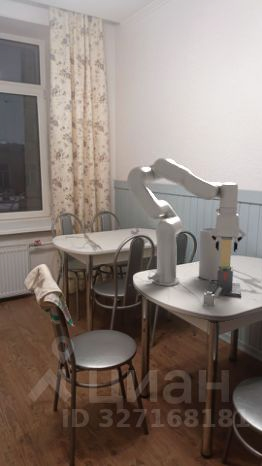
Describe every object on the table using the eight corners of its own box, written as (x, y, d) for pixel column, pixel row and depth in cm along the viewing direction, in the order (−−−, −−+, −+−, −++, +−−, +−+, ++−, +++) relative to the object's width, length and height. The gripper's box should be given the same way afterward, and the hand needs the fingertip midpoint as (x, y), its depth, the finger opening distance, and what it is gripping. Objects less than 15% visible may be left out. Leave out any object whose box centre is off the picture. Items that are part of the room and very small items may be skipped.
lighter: (203, 304, 139) (203, 285, 138) (204, 302, 141) (205, 284, 139) (220, 307, 136) (221, 288, 134) (221, 305, 137) (222, 287, 136)
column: (219, 274, 151) (221, 237, 148) (219, 271, 156) (221, 235, 153) (230, 275, 150) (232, 238, 147) (230, 272, 155) (232, 236, 152)
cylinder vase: (226, 280, 168) (228, 231, 163) (201, 280, 168) (203, 231, 163) (219, 273, 180) (221, 227, 176) (196, 273, 180) (198, 227, 176)
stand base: (208, 294, 150) (208, 270, 148) (209, 284, 163) (210, 261, 161) (240, 297, 146) (242, 272, 144) (239, 286, 159) (240, 263, 157)
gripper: (207, 211, 147) (206, 251, 150) (249, 212, 142) (246, 253, 145) (208, 209, 154) (206, 247, 157) (248, 210, 149) (245, 249, 152)
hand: (226, 250), depth 151 cm, fingers open, 6 cm apart
